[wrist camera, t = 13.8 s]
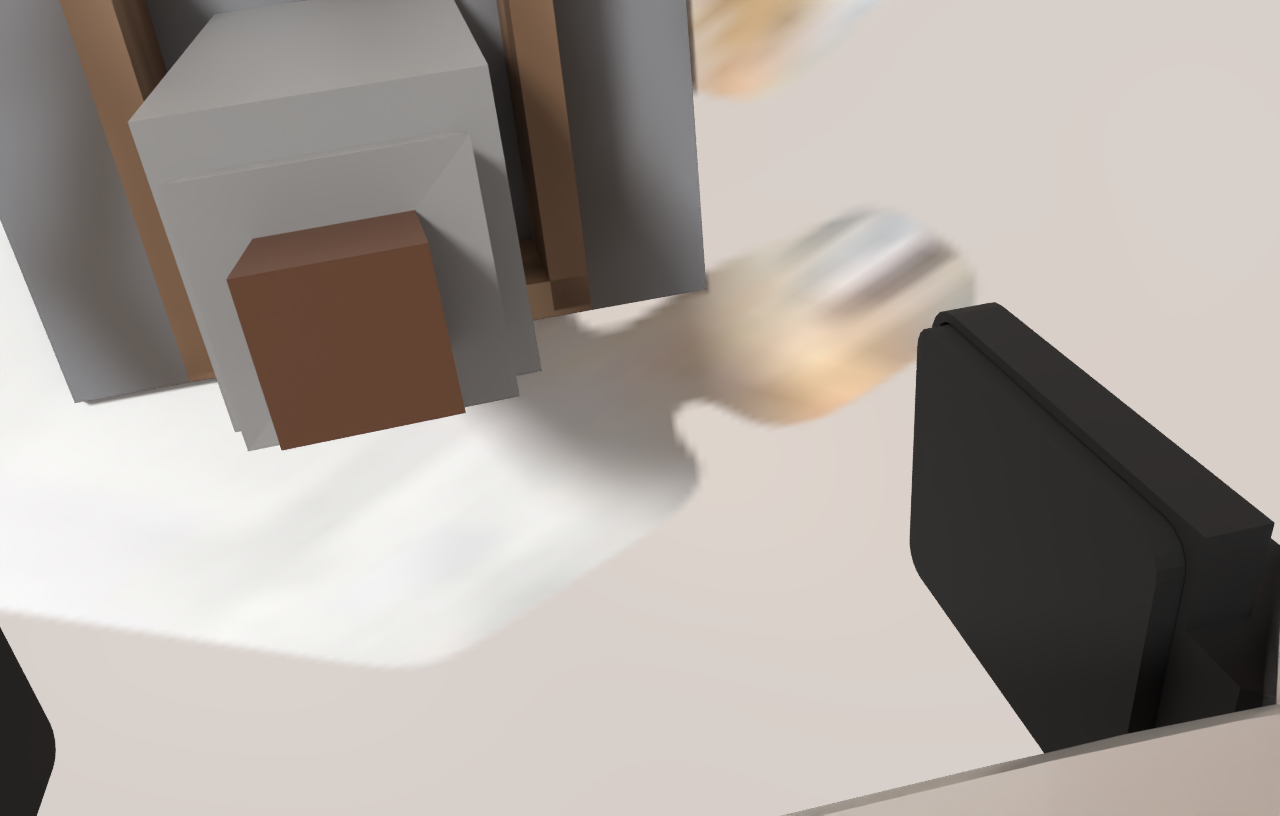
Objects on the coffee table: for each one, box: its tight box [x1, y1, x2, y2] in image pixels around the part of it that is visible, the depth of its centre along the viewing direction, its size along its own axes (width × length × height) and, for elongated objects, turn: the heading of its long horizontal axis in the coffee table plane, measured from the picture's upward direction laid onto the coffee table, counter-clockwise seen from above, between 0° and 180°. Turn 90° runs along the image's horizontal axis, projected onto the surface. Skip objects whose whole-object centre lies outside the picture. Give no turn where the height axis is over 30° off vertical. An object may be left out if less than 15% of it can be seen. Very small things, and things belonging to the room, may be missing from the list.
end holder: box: [0, 0, 706, 403], centre depth 32 cm, size 22×16×4 cm
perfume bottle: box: [128, 0, 541, 451], centre depth 26 cm, size 7×7×18 cm
